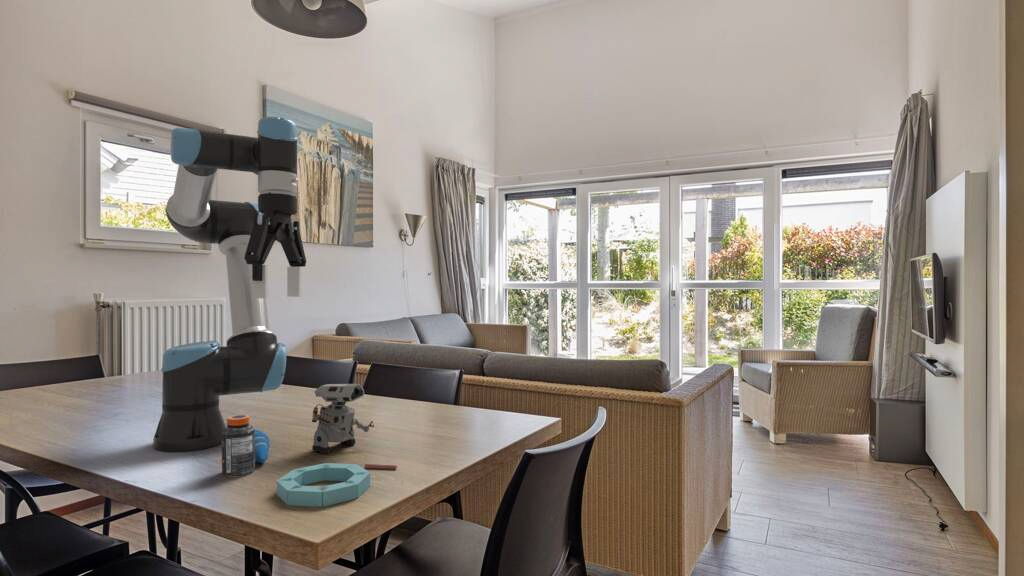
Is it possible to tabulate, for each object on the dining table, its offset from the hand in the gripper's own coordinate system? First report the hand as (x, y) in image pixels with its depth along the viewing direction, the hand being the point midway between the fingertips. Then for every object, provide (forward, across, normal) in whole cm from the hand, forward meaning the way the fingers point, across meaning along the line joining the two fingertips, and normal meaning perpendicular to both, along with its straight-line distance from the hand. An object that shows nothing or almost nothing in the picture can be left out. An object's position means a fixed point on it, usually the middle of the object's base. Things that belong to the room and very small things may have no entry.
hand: (277, 297), depth 119 cm
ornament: (+34, -3, +2) cm, 34 cm away
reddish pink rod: (+35, 0, -22) cm, 41 cm away
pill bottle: (+35, -6, +5) cm, 36 cm away
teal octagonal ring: (+35, -13, -16) cm, 40 cm away
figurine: (+35, +12, -9) cm, 38 cm away
